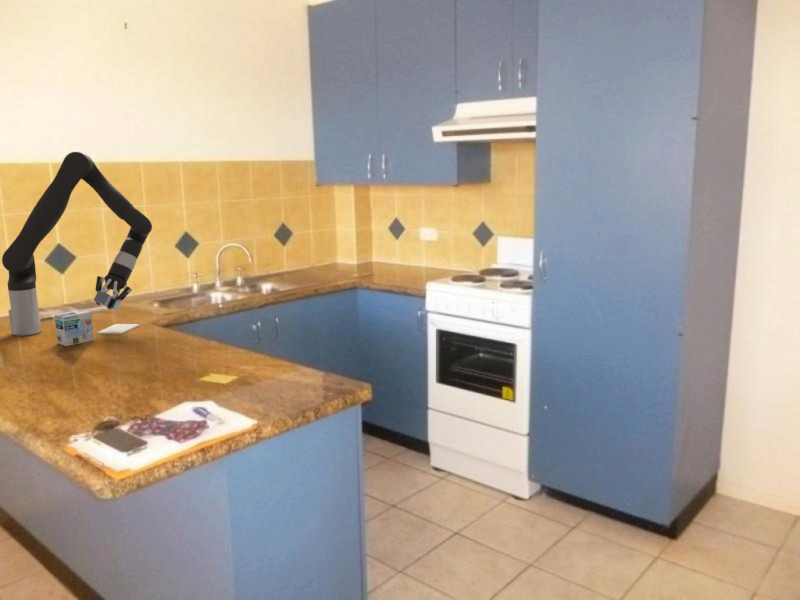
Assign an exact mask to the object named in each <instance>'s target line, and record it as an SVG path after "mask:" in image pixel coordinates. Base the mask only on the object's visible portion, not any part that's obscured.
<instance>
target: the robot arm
mask: <svg viewBox="0 0 800 600" xmlns="http://www.w3.org/2000/svg"><path fill="white" fill-rule="evenodd" d="M81 180H82V181H84V182H85V183H86V184H88V185H89V186H90V187H91V188H92V189H93V190H94V191H95V193H96V194H97V195H98V196H99V197H100V199H101V200H102V201H103V203H104V204H105V205H106V207H108V208H109V210H111V211H112V213H114V215H116V216H117V217H118V218H119V219H120V220H123V221H124V222H125V223H126V224H127V225H128V226H129V227H130V228H129V231H128V234H127V235H126V237H125V239H124V241H123V243H122V245H121V246H120V248H119V251H118V253H117V254H116V255H115V257H114V259H113V262H112V263H111V265H110V267H109V270H108V272H107V274H106V275H105V276H100V275H98V276H97V277H96V283H95V288H94V289H95V291H96V293H97V292H98V290H99V291H101V292H104V293H107V294H108V292H110V290H112V295H111V296H112V299H111V300H110V302H109V304H108V306H107V307H106V308H107V309H108V310H112V309H111V308H113V307H114V305H115V303H116V301H118V300H119V301H121V302H122V301H123V300H124V299H126V297H127V296H128V295H129V294H130V293H131V291H132V288H131V287H129V286H128V285H127V282H128V281H129V279H130V277H131V275H132V273H133V270H134V269H135V266H136V264H137V261H138V259H139V256H140V255H141V252H142V249H143V245H144V244H145V241H146V240H147V238H148V236H149V234H150V233H151V232H152V229H153V225H152V222H151V220H150V219H149V218H148V217H147V216H146V215H145V214H144V213H142V212H141V211H140V210H139V209H137V208H136V207H135V206H134V205H133V204H132V203H131V201H129V200H128V199H127V198H126V197H125V196H124V195H123V194H122V192H120V190H118V189H117V188H116V187H115V186H114V185H113V184H112V183H111V182H110V180H108V179H107V178H106V177H105V176H104V174H103V173H102V172H101V170H100V169H99V168H98V166H97V165H96V164H95V163H94V161H93V159H92V158H91V157H90V155H89V154H87V153H84V152H82V151H72V152H70V153H68V154H66V155H65V157H64V158H63V160H62V162H61V164H60V166H59V169H58V170H57V173H56V175H55V177H54V178H53V180H52V182H51V183H50V185H48V187H47V188H46V190H45V191H44V192H43V194H42V195H41V196H40V198H39V200H37V202H36V204H35V205H34V207H33V209H32V210H31V211H30V213H29V215H28V217H27V219H26V221H25V222H24V225H23V227H22V229H21V230H20V231H19V233H18V235H17V237H16V238H15V239H14V240H13V241H12V243H11V244H10V245H9V247H8V248H7V249H6V250H5V251H4V253H3V254H2V257H1V263H2V266H3V267H4V269H5V270H7V271H8V280H7V289H8V298H9V299H8V300H9V306H10V309H9V310H8V318H9V326H10V334H11V335H13V336H17V337H19V336H20V337H21V336H22V337H23V336H31V335H35V334H39V333H41V332H42V327H41V317H40V316H41V315H40V308H39V302H38V294H37V293H38V292H37V286H36V283H37V272H36V271H37V270H36V262H35V257H34V253H35V251H36V249H37V248H38V247H39V245H40V243H41V242H42V241H43V240H44V239H45V238H46V237H47V235H49V233H51V231H52V230H53V229H54V228H55V226H56V225H57V224H58V222H59V221H60V219H61V218H62V216H63V215H64V212H65V211H66V209H67V207H68V204H69V201H70V198H71V195H72V193H73V192H74V189H75V187H77V185H78V184H79V182H80V181H81ZM103 283H104V285H103ZM122 289H123V291H122V292H121V290H122ZM95 304H96V305H97V306H101V304H99V303H98V302H96V301H95Z"/></svg>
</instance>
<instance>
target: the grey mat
mask: <svg viewBox="0 0 800 600" xmlns="http://www.w3.org/2000/svg"><path fill="white" fill-rule="evenodd" d="M140 326H141V324H140V323H135V324H134V323H115V324H113V325H111V326H108V327H106V328H103V329H101V330H99V331H97V332H96V335H123V334H125V333H128V332H130V331H131V330H134V329H136V328H139V327H140Z"/></svg>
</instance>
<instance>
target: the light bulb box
mask: <svg viewBox="0 0 800 600" xmlns="http://www.w3.org/2000/svg"><path fill="white" fill-rule="evenodd" d="M54 320H55V321H54V323H55V330H56V341H57V344H58V345H61V346H65V347H68V346H75V345H78V344H84V343H87V342H88V343H89V342H93V341H95V334H94V326H93V316H92V311H88V310H84V309H80V310H76V311H75V310H73V311H68V312H63V313H57V314H56V313H55V314H54Z"/></svg>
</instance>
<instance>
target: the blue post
mask: <svg viewBox="0 0 800 600" xmlns="http://www.w3.org/2000/svg"><path fill="white" fill-rule="evenodd" d="M112 296H113V295H111V294H109V293H108V292H107V293H104V292H101V291H99V290H98V292H97V291H96V294H95V296H94V299H93V301H94V302H95V303H96V302H98V303H99V304H100V306H103V307H105V308H107V306H108V304H109V302H110V300H111V299H112ZM121 302H122V301H120V300H118V301H116V303H115V305H114V307H113V308H111V309H110V310H113V311H115V312H117V311H118V309H119V307H120V305H121Z"/></svg>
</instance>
